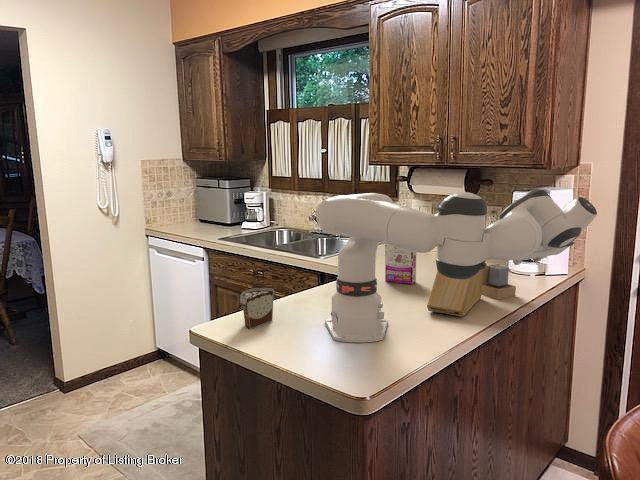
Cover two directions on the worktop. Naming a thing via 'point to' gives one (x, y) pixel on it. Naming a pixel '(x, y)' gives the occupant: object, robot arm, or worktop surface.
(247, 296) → the food container
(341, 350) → the worktop surface
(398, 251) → the candy bar box
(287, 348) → the worktop surface
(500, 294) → the carton
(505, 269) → the tea tin
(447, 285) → the knife block
